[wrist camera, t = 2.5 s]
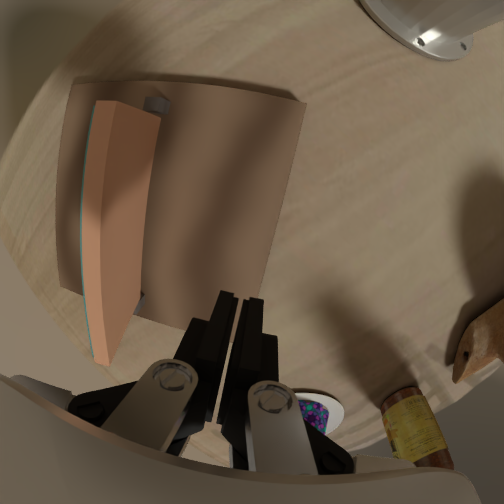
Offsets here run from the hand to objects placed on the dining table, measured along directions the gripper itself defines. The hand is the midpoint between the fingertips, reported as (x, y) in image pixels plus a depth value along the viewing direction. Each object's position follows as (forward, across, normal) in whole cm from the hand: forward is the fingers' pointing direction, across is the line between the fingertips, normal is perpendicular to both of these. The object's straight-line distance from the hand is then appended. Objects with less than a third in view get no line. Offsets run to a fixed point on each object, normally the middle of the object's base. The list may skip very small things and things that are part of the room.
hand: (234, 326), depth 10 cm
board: (+12, +9, -1) cm, 14 cm away
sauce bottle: (+12, -23, +16) cm, 31 cm away
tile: (+5, +7, -1) cm, 9 cm away
